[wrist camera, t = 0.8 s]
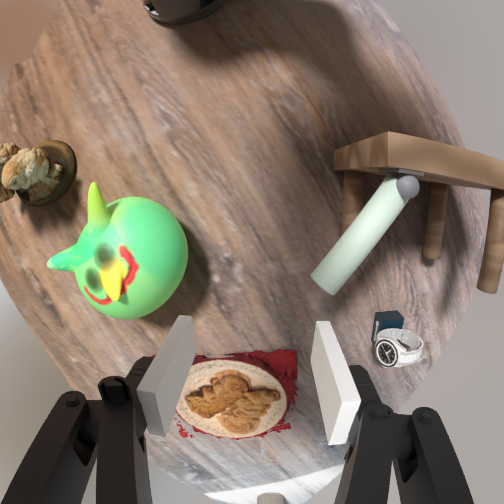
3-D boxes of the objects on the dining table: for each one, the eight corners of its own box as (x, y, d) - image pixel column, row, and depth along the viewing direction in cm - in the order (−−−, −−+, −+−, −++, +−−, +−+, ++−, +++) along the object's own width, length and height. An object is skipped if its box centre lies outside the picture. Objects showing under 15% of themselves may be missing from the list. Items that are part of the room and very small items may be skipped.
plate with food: (153, 349, 51) (146, 360, 48) (295, 345, 49) (297, 357, 45) (183, 432, 57) (179, 443, 54) (298, 432, 55) (298, 444, 52)
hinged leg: (385, 167, 26) (404, 166, 22) (405, 187, 26) (426, 189, 22) (307, 268, 29) (314, 284, 25) (329, 285, 29) (339, 302, 25)
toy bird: (151, 314, 48) (115, 361, 34) (84, 248, 46) (31, 274, 31) (218, 241, 44) (198, 272, 30) (141, 168, 42) (91, 167, 28)
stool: (334, 150, 40) (388, 131, 21) (443, 166, 40) (527, 170, 20) (328, 248, 44) (372, 302, 25) (435, 253, 43) (509, 295, 24)
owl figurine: (21, 216, 45) (-40, 234, 28) (12, 162, 42) (-49, 166, 25) (82, 190, 43) (13, 201, 27) (72, 127, 40) (5, 117, 24)
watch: (365, 313, 46) (387, 347, 36) (405, 309, 46) (433, 339, 35) (361, 341, 48) (380, 377, 37) (400, 336, 47) (425, 369, 37)
